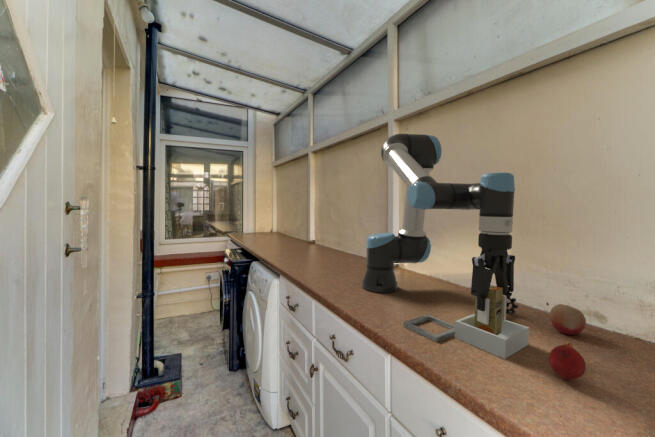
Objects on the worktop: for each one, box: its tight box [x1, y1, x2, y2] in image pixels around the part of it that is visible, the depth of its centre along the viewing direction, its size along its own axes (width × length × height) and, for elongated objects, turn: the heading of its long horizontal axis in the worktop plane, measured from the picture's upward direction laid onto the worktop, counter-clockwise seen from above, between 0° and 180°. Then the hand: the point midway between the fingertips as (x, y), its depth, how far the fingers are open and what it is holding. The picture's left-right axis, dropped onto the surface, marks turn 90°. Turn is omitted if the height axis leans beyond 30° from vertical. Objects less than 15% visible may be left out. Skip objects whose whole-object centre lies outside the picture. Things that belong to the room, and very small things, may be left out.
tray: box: [454, 313, 530, 360], centre depth 75 cm, size 13×13×5 cm
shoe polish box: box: [474, 284, 503, 335], centre depth 75 cm, size 5×5×12 cm
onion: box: [548, 341, 587, 382], centre depth 58 cm, size 6×6×8 cm
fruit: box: [548, 303, 587, 336], centre depth 80 cm, size 8×8×8 cm
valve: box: [506, 295, 519, 315], centre depth 92 cm, size 7×7×12 cm
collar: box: [402, 313, 455, 343], centre depth 82 cm, size 11×11×1 cm
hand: (491, 320), depth 74 cm, fingers closed on shoe polish box, 6 cm apart
